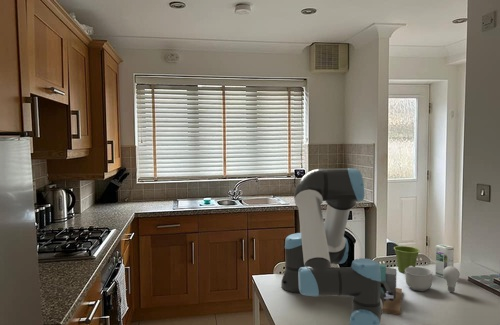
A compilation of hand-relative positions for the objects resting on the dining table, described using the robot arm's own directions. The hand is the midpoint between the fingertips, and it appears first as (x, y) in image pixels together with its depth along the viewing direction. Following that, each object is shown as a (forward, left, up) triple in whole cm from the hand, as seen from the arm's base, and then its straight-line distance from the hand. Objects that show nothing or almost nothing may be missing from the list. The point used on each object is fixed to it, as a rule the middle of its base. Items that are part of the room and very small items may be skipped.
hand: (376, 276), depth 129 cm
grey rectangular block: (0, +20, -13) cm, 24 cm away
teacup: (+14, +37, -15) cm, 42 cm away
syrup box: (+26, +57, -15) cm, 64 cm away
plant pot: (+9, +57, -15) cm, 60 cm away
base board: (0, +17, -15) cm, 22 cm away
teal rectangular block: (0, +19, -12) cm, 22 cm away
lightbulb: (+27, +36, -15) cm, 47 cm away
